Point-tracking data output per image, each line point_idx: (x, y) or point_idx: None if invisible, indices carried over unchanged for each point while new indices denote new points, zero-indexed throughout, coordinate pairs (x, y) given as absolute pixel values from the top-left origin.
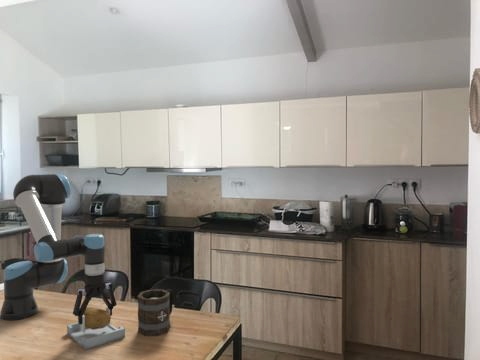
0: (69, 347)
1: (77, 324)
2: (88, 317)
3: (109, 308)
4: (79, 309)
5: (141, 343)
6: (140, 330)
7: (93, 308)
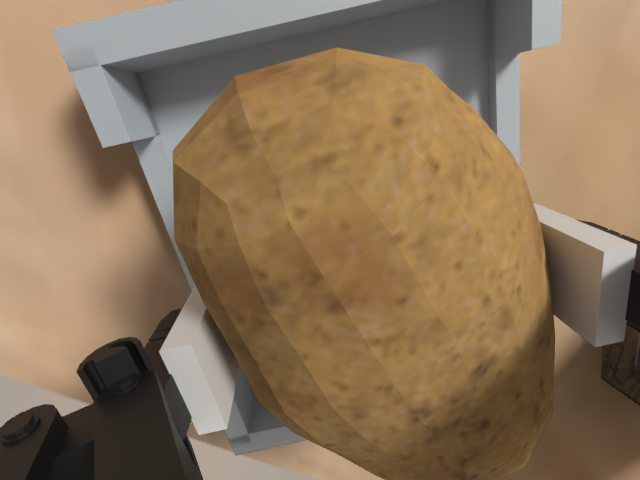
0: (147, 331)
1: (187, 48)
2: (278, 417)
3: (635, 323)
4: (96, 450)
5: (539, 445)
6: (625, 352)
7: (400, 331)
